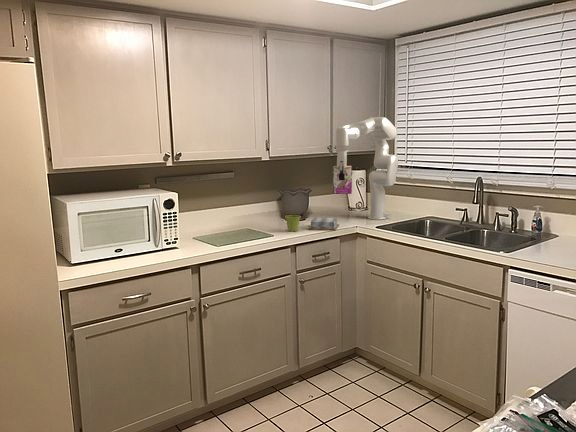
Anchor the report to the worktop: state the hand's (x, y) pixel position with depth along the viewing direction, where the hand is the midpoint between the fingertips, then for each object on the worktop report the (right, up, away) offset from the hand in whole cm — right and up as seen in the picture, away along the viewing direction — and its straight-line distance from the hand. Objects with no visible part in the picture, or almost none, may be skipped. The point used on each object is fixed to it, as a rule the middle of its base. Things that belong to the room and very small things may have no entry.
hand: (342, 179), depth 289 cm
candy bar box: (0, -9, +1) cm, 9 cm away
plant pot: (-29, -31, +1) cm, 42 cm away
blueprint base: (-10, -29, +8) cm, 32 cm away
